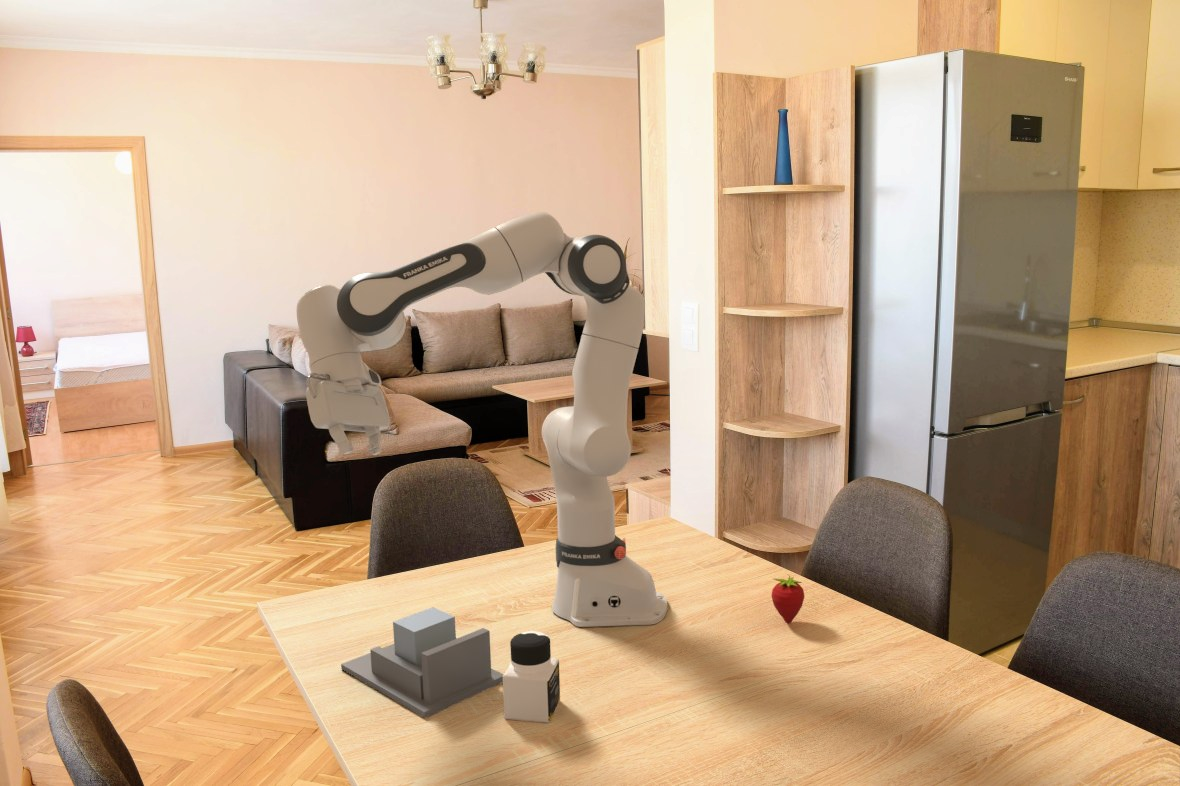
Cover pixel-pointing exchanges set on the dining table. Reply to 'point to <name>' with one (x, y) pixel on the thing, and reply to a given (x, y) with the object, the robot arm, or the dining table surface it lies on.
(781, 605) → the strawberry
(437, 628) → the key block
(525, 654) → the medicine bottle
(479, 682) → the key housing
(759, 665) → the dining table surface
